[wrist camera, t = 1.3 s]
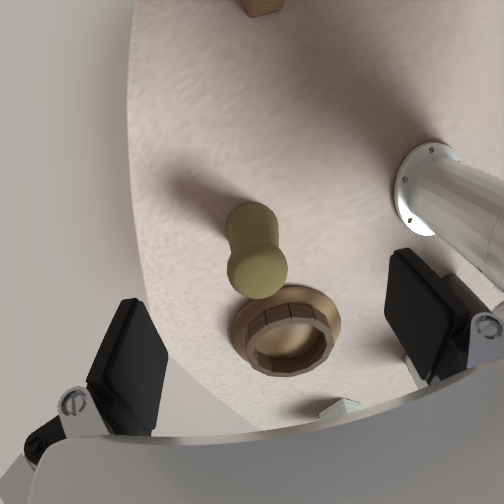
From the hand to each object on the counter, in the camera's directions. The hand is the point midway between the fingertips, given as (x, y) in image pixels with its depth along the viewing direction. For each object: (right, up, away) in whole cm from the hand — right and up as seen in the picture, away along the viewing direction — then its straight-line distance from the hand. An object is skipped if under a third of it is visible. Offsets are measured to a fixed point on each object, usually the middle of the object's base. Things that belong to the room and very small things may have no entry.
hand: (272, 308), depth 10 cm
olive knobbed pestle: (-1, +5, +23) cm, 23 cm away
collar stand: (+4, -9, +30) cm, 32 cm away
